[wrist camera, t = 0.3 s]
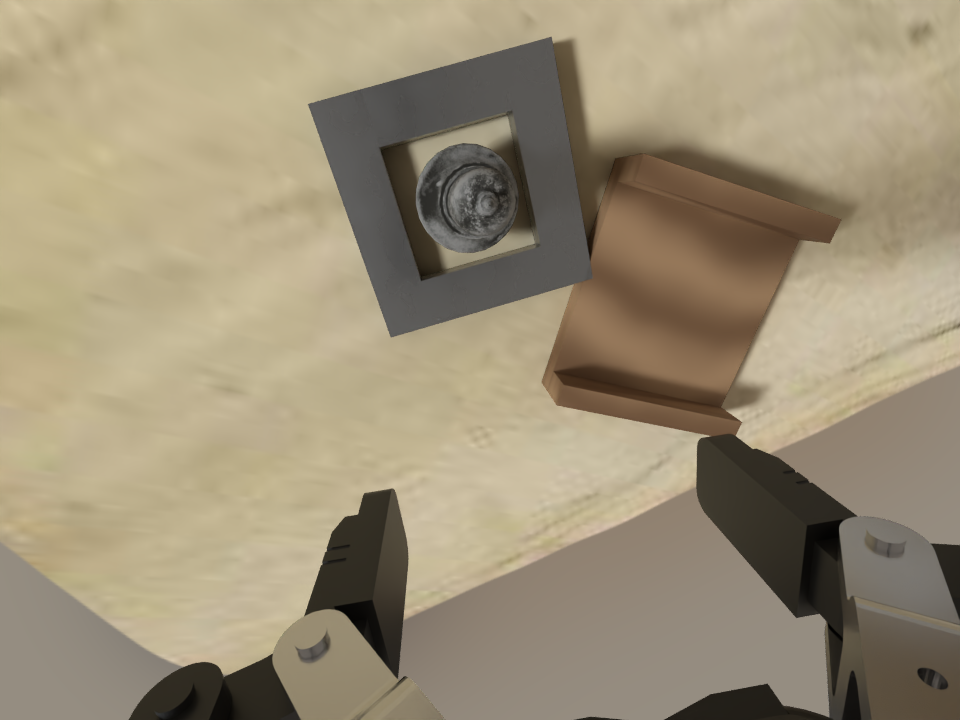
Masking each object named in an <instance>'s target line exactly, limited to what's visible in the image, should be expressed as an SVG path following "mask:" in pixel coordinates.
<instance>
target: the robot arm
mask: <svg viewBox="0 0 960 720" xmlns="http://www.w3.org/2000/svg"><path fill="white" fill-rule="evenodd" d="M696 488H697V496H698V499H699V502H700V505H701V507H702V509H703V511H704V512H705V513H706V515H707V516H708V517H709V518H710V519H711V520H712V521H713V523H714V524H715V525H716V526H717V527H718V528H719V530H720V531H721V532H722V533H723V534H724V535H725V536H726V538H727V539H728V540H729V541H730V542H731V543H732V544H733V545H734V547H735V548H736V549H737V550H738V551H739V553H740V554H741V555H742V556H743V557H744V558H745V559H746V560H747V562H748V563H749V564H750V565H751V566H752V567H753V568H754V570H755V571H756V572H757V573H758V574H759V575H760V577H761V578H762V579H763V580H764V581H765V582H766V584H767V585H768V586H769V587H770V588H771V589H772V590H773V592H774V593H775V594H776V595H777V596H778V597H779V598H780V600H781V601H782V602H783V603H784V604H785V605H786V606H787V608H788V609H789V610H790V611H791V612H792V613H793V615H794V616H795V617H796V618H798V617H803V616H809V615H815V614H820V615H821V616H822V617H823V618H824V619H825V620H826V625H825V634H824V635H825V652H826V668H827V684H828V698H829V717H826V716H824V715H821V714H818V713H814V712H811V711H808V710H804V709H799V708H794V707H790V706H783V705H782V704H781V702H780V701H779V699H778V698H777V697H776V695H775V694H774V692H773V691H772V689H771V688H770V686H769V685H768V684H764V685H758V686H753V687H748V688H742V689H737V690H731V691H726V692H721V693H716V694H710V695H709V696H707V697H705V698H703V699H702V700H700V701H698V702H696V703H694V704H692V705H690V706H689V707H687V708H685V709H683V710H681V711H679V712H678V713H676V714H674V715H672V716H670V717H668V718H667V719H665V720H960V545H947V544H931V543H929V541H927V540H926V539H925V538H924V537H923V536H921V535H920V534H919V533H917V532H915V531H914V530H912V529H910V528H908V527H906V526H904V525H901V524H899V523H896V522H893V521H890V520H886V519H881V518H876V517H868V516H867V517H866V516H859V517H858V516H857V515H855V514H854V513H852V512H851V511H850V510H848V509H847V508H846V507H844V506H843V505H841V504H840V503H839V502H838V501H836V500H835V499H834V498H832V497H831V496H829V495H828V494H827V493H825V492H824V491H823V490H821V489H820V488H819V487H817V486H816V485H815V484H813V483H809V481H808V479H806V478H805V477H803V476H802V475H801V474H800V473H798V472H797V473H796V472H795V470H794V469H793V468H791V467H790V466H789V465H787V464H786V463H785V462H783V461H782V460H781V459H779V458H777V457H775V456H773V455H770V454H768V453H766V452H763V451H761V450H758V449H752V448H750V447H749V446H748V445H746V444H745V443H744V442H743V441H741V440H740V439H739V438H737V437H736V436H735V435H733V434H723V435H717V436H711V437H705V438H701V439H700V440H699V441H698V445H697V486H696ZM322 563H323V565H321V567H320V570H319V573H318V576H317V579H316V582H315V585H314V588H313V591H312V594H311V597H310V600H309V603H308V606H307V609H306V612H305V615H304V617H302V618H301V619H299V620H298V621H296V622H295V623H294V624H292V625H291V626H290V627H289V628H288V629H287V630H286V631H285V632H284V633H283V634H282V636H281V637H280V639H279V640H278V642H277V644H276V646H275V649H274V652H273V654H271V655H270V656H268V657H266V658H264V659H262V660H260V661H258V662H256V663H254V664H252V665H250V666H247V667H245V668H243V669H241V670H239V671H236V672H234V673H232V674H230V675H228V676H225V677H224V676H223V674H222V672H221V670H220V668H219V667H218V666H217V665H215V664H213V663H209V662H200V663H194V664H191V665H188V666H185V667H183V668H181V669H179V670H177V671H175V672H173V673H171V674H170V675H169V676H167V677H165V678H164V679H163V680H161V681H160V682H159V683H158V684H157V685H155V686H154V687H153V688H152V689H151V690H150V691H149V692H148V693H147V694H146V695H145V696H144V697H143V699H142V700H141V701H140V703H139V704H138V705H137V707H136V708H135V710H134V711H133V713H132V715H131V717H130V718H129V720H445V719H444V717H443V716H442V715H441V714H440V713H439V711H438V710H437V709H436V708H435V707H434V705H433V704H432V703H431V702H430V701H429V699H428V698H427V697H426V696H425V695H424V693H423V692H422V691H421V690H420V689H419V687H418V686H417V685H416V684H415V683H414V682H413V681H412V680H411V679H410V678H408V677H406V676H405V677H403V678H402V679H401V680H400V681H399V680H398V673H399V661H400V650H401V639H402V627H403V616H404V605H405V594H406V583H407V571H408V546H407V539H406V535H405V530H404V526H403V522H402V517H401V513H400V509H399V504H398V500H397V496H396V492H395V490H394V489H387V490H381V491H375V492H369V493H365V494H364V495H363V498H362V502H361V506H360V510H359V513H358V515H353V516H347V517H345V518H344V519H343V520H342V521H341V522H340V524H339V525H338V526H337V527H336V528H335V529H334V531H333V532H332V534H331V537H330V540H329V543H328V546H327V552H325V555H324V558H323V561H322ZM577 720H620V719H609V718H598V717H587V718H582V719H577Z"/></svg>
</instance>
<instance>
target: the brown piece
mask: <svg viewBox="0 0 960 720" xmlns="http://www.w3.org/2000/svg"><path fill="white" fill-rule="evenodd" d="M840 221H841V219H838V218H835V217H832V216H829V215H826V214H823V213H820V212H817V211H814V210H811V209H808V208H805V207H802V206H799V205H796V204H793V203H790V202H787V201H784V200H781V199H778V198H775V197H772V196H769V195H766V194H763V193H760V192H757V191H754V190H751V189H748V188H745V187H742V186H739V185H736V184H734V183H731V182H728V181H725V180H722V179H719V178H716V177H713V176H710V175H707V174H704V173H701V172H698V171H695V170H692V169H689V168H686V167H683V166H680V165H677V164H674V163H671V162H668V161H665V160H662V159H659V158H656V157H653V156H650V155H647V154H640V155H634V156H628V157H622V158H616V159H615V162H614V165H613V168H612V171H611V174H610V178H609V181H608V184H607V187H606V190H605V193H604V196H603V199H602V202H601V205H600V208H599V211H598V214H597V217H596V220H595V223H594V226H593V229H592V232H591V235H590V238H589V241H588V244H587V246H588V252H589V258H590V264H591V270H592V275H591V276H593V279H591V278H590V279H589V280H588V279H587V280H586V279H585V280H586V281H582V282H579V283H575V284H574V286H573V289H572V292H571V295H570V298H569V301H568V304H567V307H566V310H565V313H564V316H563V319H562V322H561V325H560V328H559V331H558V334H557V337H556V340H555V344H554V347H553V350H552V353H551V356H550V359H549V362H548V365H547V368H546V371H545V374H544V377H543V380H542V384H543V385H544V387H545V388H546V390H547V391H548V393H549V394H550V396H551V397H552V399H553V400H554V402H555V403H556V405H558V406H563V407H568V408H573V409H578V410H583V411H588V412H593V413H598V414H603V415H608V416H613V417H619V418H624V419H629V420H634V421H639V422H644V423H649V424H654V425H659V426H664V427H669V428H674V429H679V430H684V431H689V432H694V433H699V434H704V435H709V436H717V435H723V434H733V435H735V436H736V434H737V432H738V429H739V427H740V425H741V423H742V422H741V421H740V420H738V419H737V418H735V417H734V416H732V415H731V414H730V413H728V412H727V411H725V410H724V409H723V408H721V405H722V403H723V401H724V399H725V397H726V395H727V393H728V391H729V388H730V386H731V384H732V382H733V380H734V378H735V376H736V374H737V371H738V369H739V367H740V365H741V363H742V361H743V359H744V356H745V354H746V352H747V350H748V348H749V346H750V344H751V342H752V339H753V337H754V335H755V333H756V331H757V329H758V327H759V324H760V322H761V320H762V318H763V316H764V314H765V312H766V310H767V307H768V305H769V303H770V301H771V299H772V297H773V295H774V293H775V290H776V288H777V286H778V284H779V282H780V280H781V278H782V275H783V273H784V271H785V269H786V267H787V265H788V263H789V261H790V258H791V256H792V254H793V252H794V250H795V248H796V246H797V243H798V241H799V240H807V241H815V242H823V243H830V242H831V240H832V238H833V236H834V234H835V232H836V230H837V228H838V225H839V223H840ZM589 268H590V267H589ZM587 271H588V270H587ZM588 272H589V271H588ZM588 272H587V273H588ZM586 276H587V275H586ZM586 278H587V277H586Z"/></svg>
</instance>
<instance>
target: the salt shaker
mask: <svg viewBox="0 0 960 720" xmlns="http://www.w3.org/2000/svg"><path fill="white" fill-rule="evenodd" d="M518 199H519V195H518V189H517V183H516V180H515V178H514V175H513V173H512V171H511V169H510V167H509V166H508V165H507V164H506V162H505V161H504V160H503V159H502V157H500V156H499V155H498V154H496V153H495V152H493V151H492V150H491V149H488V148H486V147H483V146H480V145H478V144H466V143H462V144H458V145H453V146H449V147H447V148H446V149H444V150H442V151H440V152H438V153H437V154H436V155H435V156H434V157H433V158H432V159H431V160H430V161H429V162H428V163H427V164H426V166H425V168H424V169H423V171H422V173H421V175H420V177H419V181H418V185H417V188H416V207H417V211H418V215H419V219H420V221H421V223H422V224H423V226H424V228H425V230H426V232H427V233H428V234H429V235H430V236H431V237H432V238H433V239H434V240H435V241H436V242H437V243H439V244H441V245H442V246H444V247H445V248H447V249H450V250H453V251H456V252H462V253H474V252H478V251H483V250H486V249H487V248H489V247H491V246H493V245H495V244H497V243H498V242H499V241H500V240H501V239H502V238H503V237H504V236H505V235H506V234H507V232H508V231H509V229H510V228H511V226H512V224H513V223H514V220H515V217H516V214H517V211H518Z"/></svg>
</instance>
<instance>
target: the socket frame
mask: <svg viewBox="0 0 960 720" xmlns="http://www.w3.org/2000/svg"><path fill="white" fill-rule="evenodd" d="M308 105H309V108H310V111H311V114H312V117H313V119H314V122H315V125H316V128H317V131H318V134H319V136H320V139H321V142H322V145H323V148H324V150H325V153H326V156H327V159H328V162H329V165H330V167H331V170H332V173H333V176H334V179H335V181H336V184H337V187H338V190H339V193H340V195H341V198H342V201H343V204H344V207H345V210H346V212H347V215H348V218H349V221H350V224H351V226H352V229H353V232H354V235H355V238H356V241H357V243H358V246H359V249H360V252H361V255H362V257H363V260H364V263H365V266H366V269H367V272H368V274H369V277H370V280H371V283H372V286H373V288H374V291H375V294H376V297H377V300H378V303H379V305H380V308H381V311H382V314H383V317H384V319H385V322H386V325H387V328H388V331H389V334H390V336H391V337H394V336H397V335H401V334H404V333H408V332H411V331H415V330H418V329H421V328H425V327H428V326H432V325H435V324H439V323H442V322H445V321H449V320H452V319H456V318H459V317H462V316H466V315H469V314H473V313H476V312H480V311H483V310H486V309H490V308H493V307H497V306H500V305H504V304H507V303H510V302H514V301H517V300H521V299H524V298H527V297H531V296H534V295H538V294H541V293H545V292H548V291H551V290H555V289H558V288H562V287H565V286H569V285H572V284H575V283H579V282H582V281H586V280H587V279H588V280H589V279H590V278H591V279H593V276H591V275H592V270H591V264H590V258H589V252H588V246H587V240H586V235H585V229H584V223H583V217H582V211H581V206H580V200H579V194H578V188H577V182H576V176H575V171H574V165H573V159H572V153H571V147H570V141H569V136H568V130H567V124H566V118H565V112H564V107H563V101H562V95H561V89H560V83H559V77H558V72H557V66H556V60H555V54H554V48H553V42H552V37H549V38H546V39H542V40H538V41H535V42H531V43H528V44H524V45H520V46H517V47H513V48H509V49H506V50H502V51H499V52H495V53H491V54H488V55H484V56H480V57H477V58H473V59H470V60H466V61H462V62H459V63H455V64H451V65H448V66H444V67H441V68H437V69H433V70H430V71H426V72H422V73H419V74H415V75H412V76H408V77H404V78H401V79H397V80H393V81H390V82H386V83H383V84H379V85H375V86H372V87H368V88H364V89H361V90H357V91H354V92H350V93H346V94H343V95H339V96H335V97H332V98H328V99H325V100H321V101H317V102H314V103H310V104H308ZM507 114H508V119H509V123H510V128H511V133H512V137H513V142H514V147H515V151H516V156H517V161H518V165H519V170H520V175H521V180H522V184H523V189H524V194H525V198H526V203H527V208H528V212H529V217H530V222H531V226H532V231H533V236H534V241H535V244H534V245H530V246H527V247H523V248H520V249H516V250H513V251H509V252H506V253H502V254H499V255H495V256H492V257H489V258H485V259H482V260H478V261H475V262H471V263H468V264H464V265H461V266H457V267H454V268H450V269H447V270H444V271H440V272H437V273H433V274H430V275H426V276H423V277H421V276H420V273H419V270H418V267H417V263H416V260H415V257H414V254H413V251H412V247H411V244H410V241H409V238H408V235H407V231H406V228H405V225H404V222H403V219H402V215H401V212H400V209H399V206H398V203H397V199H396V196H395V193H394V190H393V187H392V183H391V180H390V177H389V174H388V171H387V167H386V164H385V161H384V158H383V155H382V151H381V150H382V149H386V148H389V147H393V146H396V145H400V144H403V143H407V142H410V141H414V140H418V139H421V138H425V137H428V136H432V135H435V134H439V133H443V132H446V131H450V130H453V129H457V128H460V127H464V126H468V125H471V124H475V123H478V122H482V121H485V120H489V119H493V118H496V117H500V116H503V115H507ZM589 267H590V268H589ZM587 270H588V271H589V272H588V271H587ZM587 272H588V273H587ZM586 275H587V276H586ZM586 277H587V278H586ZM585 279H586V280H585Z"/></svg>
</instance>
